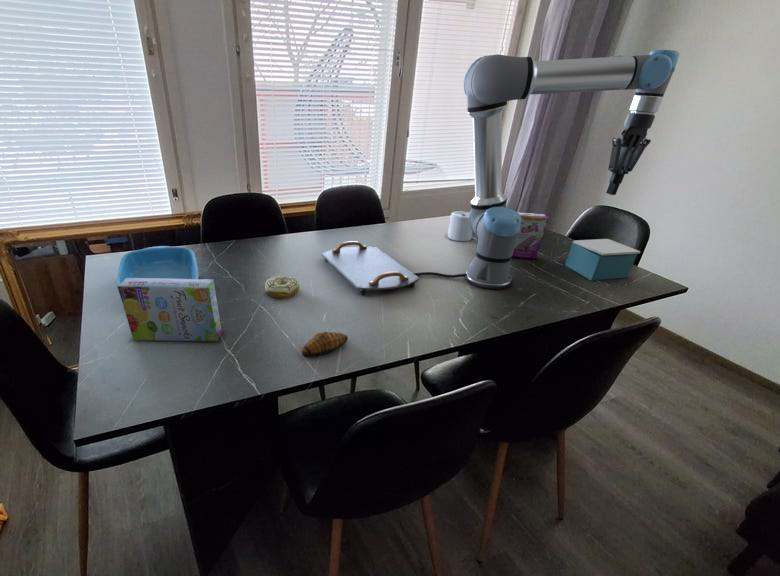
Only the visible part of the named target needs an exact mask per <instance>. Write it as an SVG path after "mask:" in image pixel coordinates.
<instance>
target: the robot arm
mask: <svg viewBox="0 0 780 576" xmlns="http://www.w3.org/2000/svg"><path fill="white" fill-rule="evenodd" d="M679 57H680V52H679V51H678V50H674V49H653V50H651V51H650V53H649V54H642V55H640V54H639V55H611V56H605V57H585V58H565V59H549V60H546V59H545V60H535V59H534V57H533V56H512V55H506V54H493V55H492V54H490V55H483V56H480V57H479V58H477V59H475V60H474V61H473V63H471V64H470V65H469V67H468V68H467V70H466V72H465V74H464V77H463V90H464V93H465V96H466V107H467V108H466V110H467V114H468V116H470V117H471V118H472V132H473V133H472V134H473V135H472V137H473V138H472V140H473V169H474V170H473V172H474V197H473V198H472V199H471V200H470V211H469V212H470V216H469V223H470V227H471V229H472V230H473V232H474V233H475V234H476V235H477V237H478V240H477V246H476V250H475V251H476V252H475V255H474V257H473V259H472V261H471V263H470V265H469V267H468V268H467V270H466V272H465V273H459V274H445V273H440V272H433V271H423V272H422V271H421V272H412V273H413V274H414V275H416V276H417V277H418V276H436V277H442V278H448V279H449V278H450V279H453V278H454V279H455V278H465V280H466V281H467V282H468V283H470V284H471V285H473V286H475V287H477V288H478V287H479V288H482V289H486V290H503V289H506V288H508V287H510V286H511V282H512V278H513V277H512V265H511V264H512V263H511V261H512V258H513V257H512V254H513V250H514V247H515V243H516V239H517V236H518V232H519V230H520V223H521V216H520V215H519V213H517V212H518V211H516V210H514V209H511V208H509V207H507V196H506V195H505V194H504V193H503V191H502V188H503V187H502V186H503V185H502V181H503V180H502V172H503V171H502V168H503V167H502V163H503V162H502V161H503V160H502V158H503V157H502V156H503V155H502V154H503V151H502V150H503V148H502V147H503V146H502V145H503V143H502V140H503V139H502V138H503V137H502V134H503V132H502V131H503V129H502V128H503V123H502V122H503V119H502V117H503V116H502V115H503V112H504V110H505V109H506V108H507V106H508V102H510V101H519V100H526V99H527V98H528V97H529V96H530V95H531V96H532V95H550V94H551V95H552V94H564V93H565V94H567V93H586V92H604V91H606V92H607V91H623V90H624V91H627V90H628V91H629V90H635V93H634V95H633V98H632V102H631V104H630V106H629V108H628V109H629V111H630V112H629V113H627V114H626V116H625V121H624V122H623V126H624V128H623V129H622V131H621V132H620V135H618V136H617V137H612V139H611V144H612V147H611V152H610V158H609V161H608V162H609V163H608V168H607V170H608V171H610V172H611V176H610V178H609V181H608V183H609V184H608V187H607V189H606V191H605V193H606V194H608V195H611V196H616V195H617V192H618V190H619V187H620V185H621V184H622V183H623V180H624V178H625V175H628V174H629V172H630V173H631V172H632V171H633V170H634V168H635V166H636V165H637V164H638V161H639V160H640V158H641V156H642V154H643V153H644V151H645V149H646V148H647V147H648V146H649V144H650V143H651V141H652V140H651V139H648V137H647V136H648V130H649V129H651V128H652V125H653V123H654V122H655V119H656V116H655V114H657V113H658V112H659V109H660V106H661V103H662V101H663V98H664V95H665V93H666V91H667V89H668V86H669V84H670V81H671V79H672V77H673V74H674V72H675V70H676V67H677V64H678V61H679Z"/></svg>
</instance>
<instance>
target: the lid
mask: <svg viewBox="0 0 780 576" xmlns="http://www.w3.org/2000/svg"><path fill="white" fill-rule="evenodd" d="M572 243H575V244H577V245H579V246H582V247H584V248H586V249H588V250H591V251H593V252H595V253H598V254H600V255H602V256H606V255H623V254H637V255H639V254H640V253H641V251H640V250H638V249H635V248H632V247H631V246H628V245H625V244H622V243H620V242H617V241H615V240H612V239H610V238H597V239H578V240H575V239H574V240H572Z"/></svg>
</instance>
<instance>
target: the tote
mask: <svg viewBox="0 0 780 576" xmlns="http://www.w3.org/2000/svg"><path fill="white" fill-rule="evenodd" d="M637 256H638V254H623V255H606V256H602V255H600V254H598V253H595V252H593V251H591V250H588V249H586V248H584V247H582V246H579V245H577V244H575V243H573V242H572V243H571V246H570V249H569V252H568V254H567V257H566V260H565V263H564V266H565V267H567V268H569V269H571V270H572V271H574V272H576V273H577V274H579V275H581V276H583V277H585V278H586V279H588V280H589V281H599V280H614V279H626V278H628V276H629V274H630V271H631V269H632V267H633V266H634V262H635V260H636V258H637Z"/></svg>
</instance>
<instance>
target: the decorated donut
mask: <svg viewBox="0 0 780 576" xmlns="http://www.w3.org/2000/svg"><path fill="white" fill-rule="evenodd" d="M299 288H300V282H299V280H298V279H297V278H294V277H292V276H285V275H278V276H273V277H270V278H268V279H267V280H266V282H264V291H265V293H267V294H269V296H271V297H272V298H277V299H286V298H291V297H293V296H294V295H296V294H297V293H298V291H299Z"/></svg>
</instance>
